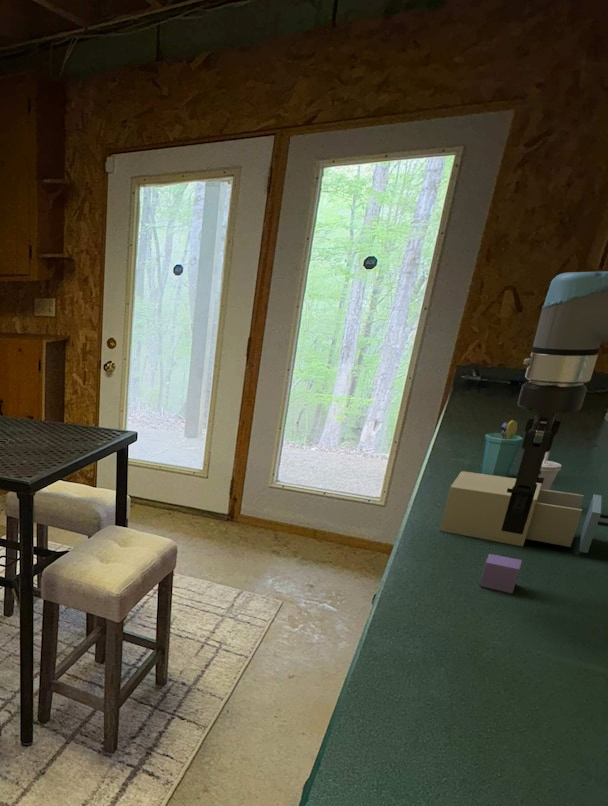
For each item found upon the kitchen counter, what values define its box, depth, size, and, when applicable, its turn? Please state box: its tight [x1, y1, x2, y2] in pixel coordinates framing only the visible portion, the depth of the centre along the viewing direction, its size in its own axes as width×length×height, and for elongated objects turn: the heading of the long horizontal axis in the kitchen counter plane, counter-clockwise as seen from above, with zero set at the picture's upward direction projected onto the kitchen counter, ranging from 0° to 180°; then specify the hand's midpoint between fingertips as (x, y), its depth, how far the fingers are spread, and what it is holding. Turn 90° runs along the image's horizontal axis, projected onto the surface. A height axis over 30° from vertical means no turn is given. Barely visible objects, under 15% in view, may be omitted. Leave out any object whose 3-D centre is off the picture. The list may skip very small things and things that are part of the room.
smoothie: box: [539, 450, 563, 490], centre depth 138 cm, size 6×6×14 cm
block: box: [479, 553, 523, 594], centre depth 105 cm, size 4×4×4 cm
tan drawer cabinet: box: [439, 470, 542, 547], centre depth 127 cm, size 14×14×10 cm
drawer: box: [525, 489, 608, 554], centre depth 119 cm, size 17×12×8 cm
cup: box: [480, 419, 524, 477], centre depth 157 cm, size 14×8×15 cm, turn 136°
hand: (514, 525), depth 102 cm, fingers open, 6 cm apart
